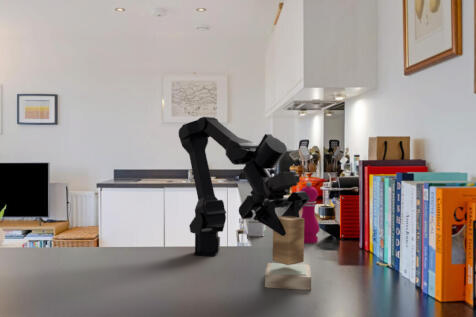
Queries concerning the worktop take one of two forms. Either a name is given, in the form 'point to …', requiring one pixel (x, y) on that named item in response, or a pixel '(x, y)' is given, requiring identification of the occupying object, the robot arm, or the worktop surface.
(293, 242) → the oak block
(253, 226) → the syrup box
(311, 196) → the pepper mill
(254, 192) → the robot arm
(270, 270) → the plinth
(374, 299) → the worktop surface
